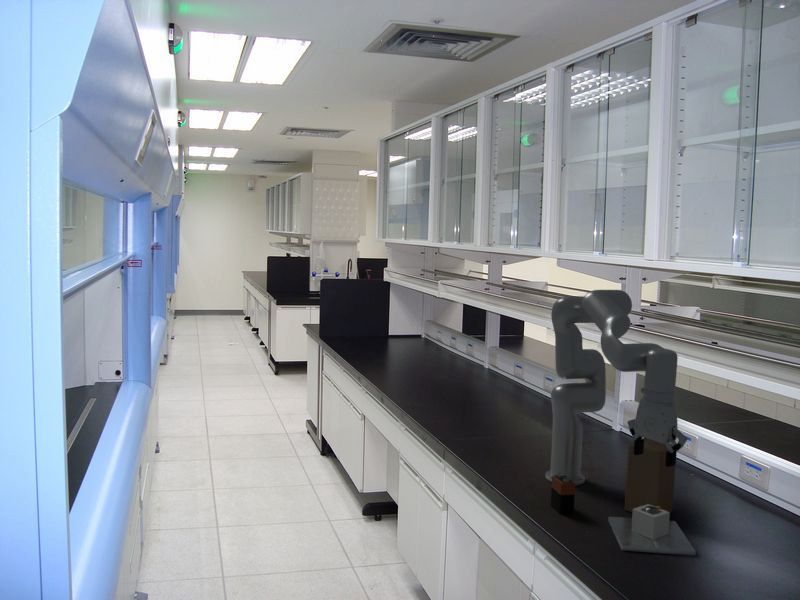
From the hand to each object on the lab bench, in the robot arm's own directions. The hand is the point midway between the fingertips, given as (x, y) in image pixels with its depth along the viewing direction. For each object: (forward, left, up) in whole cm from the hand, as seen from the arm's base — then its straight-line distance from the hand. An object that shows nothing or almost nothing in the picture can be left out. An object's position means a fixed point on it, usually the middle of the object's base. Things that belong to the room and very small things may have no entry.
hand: (653, 460), depth 181 cm
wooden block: (-18, +4, -21) cm, 28 cm away
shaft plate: (0, 0, -21) cm, 21 cm away
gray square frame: (0, 0, -20) cm, 20 cm away
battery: (-15, -21, -21) cm, 33 cm away
